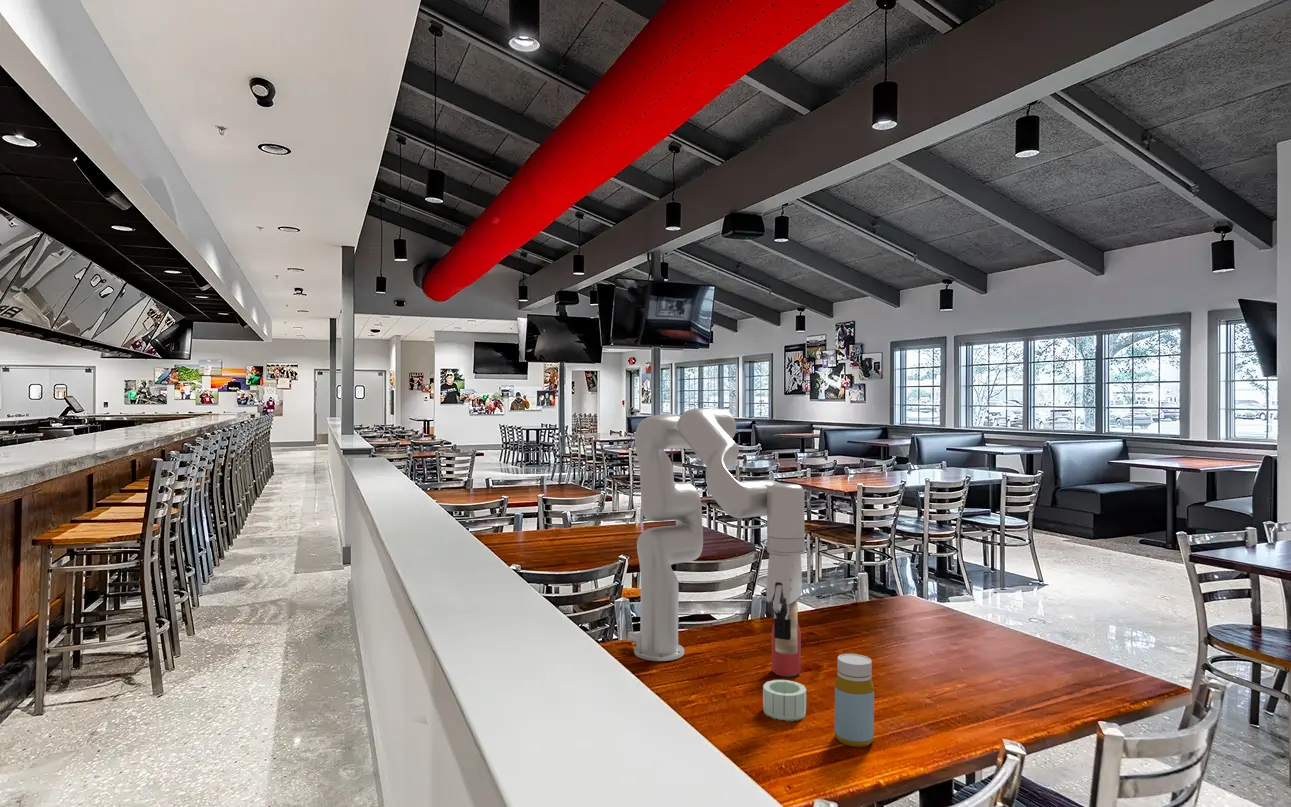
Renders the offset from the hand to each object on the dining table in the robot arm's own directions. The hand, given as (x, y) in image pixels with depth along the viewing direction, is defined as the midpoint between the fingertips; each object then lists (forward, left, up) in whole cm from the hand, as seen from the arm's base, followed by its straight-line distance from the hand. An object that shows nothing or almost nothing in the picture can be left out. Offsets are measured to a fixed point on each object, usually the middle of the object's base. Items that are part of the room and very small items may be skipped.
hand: (786, 634), depth 148 cm
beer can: (-6, +22, -16) cm, 28 cm away
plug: (0, 0, -3) cm, 3 cm away
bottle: (+15, -6, -16) cm, 23 cm away
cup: (0, 0, -16) cm, 16 cm away
